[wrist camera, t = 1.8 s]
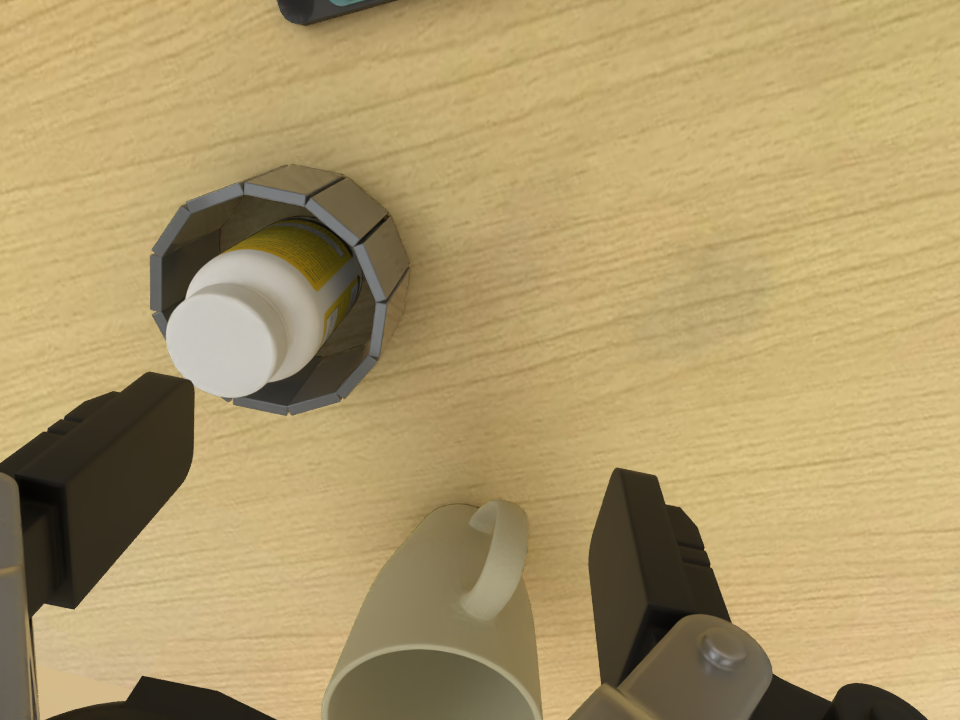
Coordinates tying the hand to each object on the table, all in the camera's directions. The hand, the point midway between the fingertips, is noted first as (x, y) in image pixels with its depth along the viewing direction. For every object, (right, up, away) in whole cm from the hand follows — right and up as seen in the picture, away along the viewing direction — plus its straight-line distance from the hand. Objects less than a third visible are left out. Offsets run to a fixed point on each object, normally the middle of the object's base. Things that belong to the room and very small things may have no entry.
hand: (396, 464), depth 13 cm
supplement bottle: (-7, +6, +20) cm, 22 cm away
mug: (+1, -7, +25) cm, 26 cm away
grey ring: (-7, +6, +20) cm, 22 cm away
